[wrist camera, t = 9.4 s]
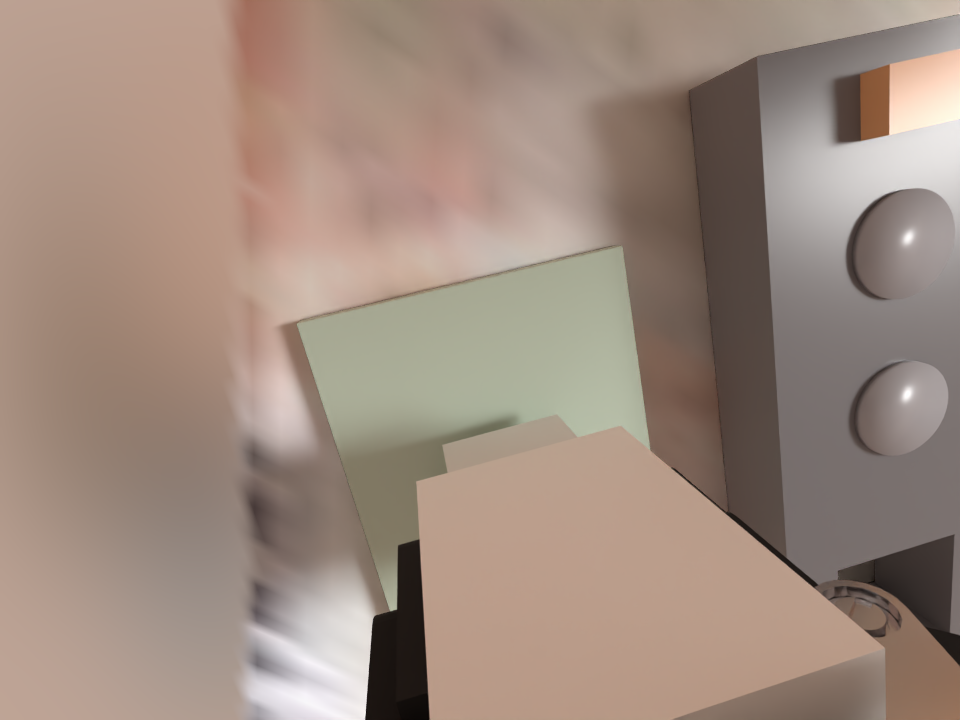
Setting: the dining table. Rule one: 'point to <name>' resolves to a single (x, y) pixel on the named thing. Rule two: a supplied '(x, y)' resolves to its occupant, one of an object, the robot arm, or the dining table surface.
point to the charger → (617, 594)
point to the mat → (470, 377)
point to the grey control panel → (841, 303)
